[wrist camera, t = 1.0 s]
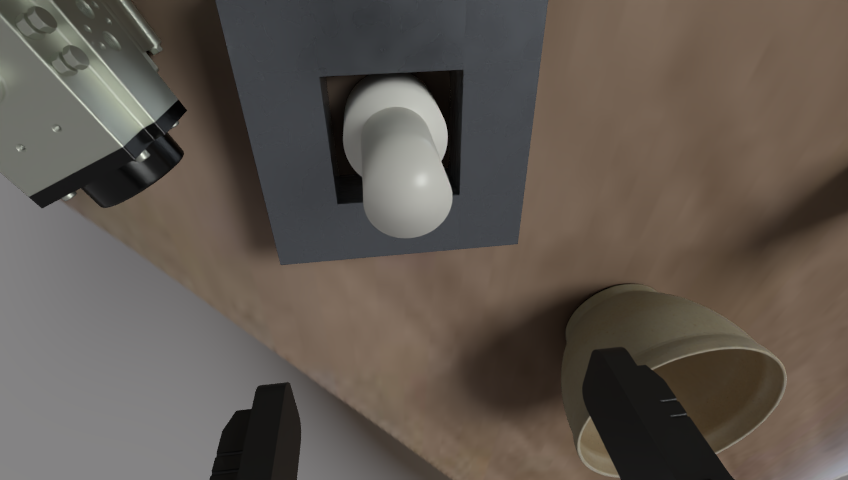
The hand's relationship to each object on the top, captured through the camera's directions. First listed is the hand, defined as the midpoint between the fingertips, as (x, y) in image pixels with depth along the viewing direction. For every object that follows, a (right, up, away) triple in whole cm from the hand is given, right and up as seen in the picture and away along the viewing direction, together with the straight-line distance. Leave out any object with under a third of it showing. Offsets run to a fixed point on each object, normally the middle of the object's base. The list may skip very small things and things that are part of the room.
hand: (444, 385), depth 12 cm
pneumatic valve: (-17, +16, +12) cm, 26 cm away
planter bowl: (+17, -4, +31) cm, 36 cm away
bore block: (-3, +12, +17) cm, 21 cm away
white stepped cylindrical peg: (-3, +12, +17) cm, 21 cm away
